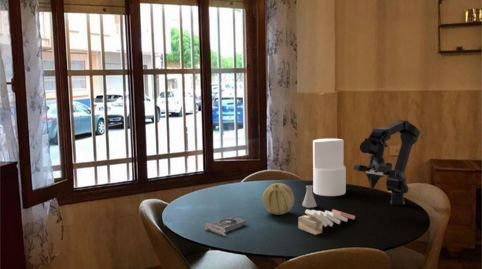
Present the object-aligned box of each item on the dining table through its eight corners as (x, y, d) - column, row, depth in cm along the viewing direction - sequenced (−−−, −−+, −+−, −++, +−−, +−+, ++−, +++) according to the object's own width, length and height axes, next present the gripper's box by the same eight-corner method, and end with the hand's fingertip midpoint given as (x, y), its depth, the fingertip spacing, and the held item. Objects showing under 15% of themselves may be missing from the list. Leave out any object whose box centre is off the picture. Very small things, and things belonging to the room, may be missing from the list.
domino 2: (324, 220, 210) (312, 209, 204) (333, 223, 206) (320, 212, 200) (323, 223, 209) (310, 212, 204) (331, 226, 205) (319, 215, 200)
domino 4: (339, 215, 215) (325, 210, 209) (347, 218, 211) (333, 212, 205) (338, 219, 215) (324, 213, 209) (346, 221, 211) (332, 216, 205)
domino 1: (319, 220, 208) (306, 209, 202) (327, 223, 204) (315, 211, 198) (317, 224, 207) (304, 212, 202) (326, 226, 203) (313, 215, 198)
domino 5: (346, 213, 218) (332, 209, 212) (355, 216, 214) (341, 211, 208) (345, 216, 218) (331, 212, 212) (354, 219, 214) (340, 215, 208)
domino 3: (332, 218, 212) (318, 210, 207) (340, 220, 208) (327, 213, 203) (330, 221, 212) (317, 213, 206) (339, 224, 208) (325, 216, 202)
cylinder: (308, 189, 267) (307, 139, 263) (335, 186, 272) (335, 137, 268) (322, 197, 251) (322, 144, 247) (351, 194, 256) (351, 142, 252)
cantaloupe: (292, 208, 233) (291, 178, 230) (296, 218, 218) (296, 185, 216) (261, 209, 232) (260, 179, 230) (264, 219, 218) (263, 187, 215)
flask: (305, 208, 232) (305, 188, 231) (299, 204, 239) (299, 185, 238) (319, 207, 234) (319, 187, 232) (313, 203, 241) (313, 183, 239)
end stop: (305, 226, 206) (305, 215, 206) (322, 232, 198) (322, 220, 198) (298, 228, 204) (298, 217, 203) (315, 234, 196) (315, 222, 195)
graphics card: (223, 229, 197) (204, 222, 205) (223, 238, 197) (204, 231, 206) (252, 220, 208) (233, 214, 217) (252, 228, 209) (233, 222, 217)
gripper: (366, 153, 212) (361, 188, 212) (404, 159, 215) (399, 194, 215) (355, 152, 223) (350, 185, 222) (392, 158, 226) (386, 190, 226)
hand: (371, 188), depth 221 cm, fingers closed
